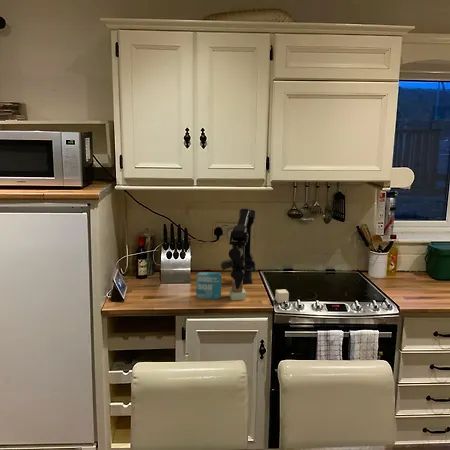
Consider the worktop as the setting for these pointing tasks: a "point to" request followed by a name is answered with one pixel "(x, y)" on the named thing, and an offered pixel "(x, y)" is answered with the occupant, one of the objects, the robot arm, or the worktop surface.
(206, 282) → the data package
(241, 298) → the sage base block
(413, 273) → the worktop surface
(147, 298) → the worktop surface
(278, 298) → the offwhite cube
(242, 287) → the walnut cube
